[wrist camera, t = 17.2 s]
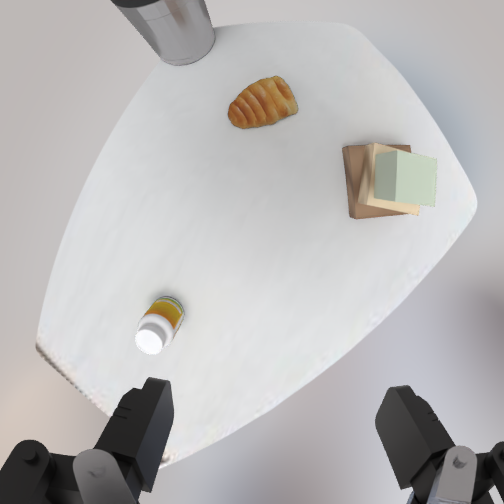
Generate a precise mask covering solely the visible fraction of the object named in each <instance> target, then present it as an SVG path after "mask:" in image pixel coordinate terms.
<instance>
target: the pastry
mask: <svg viewBox="0 0 504 504" xmlns="http://www.w3.org/2000/svg"><path fill="white" fill-rule="evenodd" d="M297 111H298V106H297V103H296V101H295V99H294V96H293V94H292V92H291V90H290V88H289V86H288V85H287V84H286V83H285V81H284V80H283V79H282V78H280V77H278V76H274V77H271V78H265V79H261V80H259V81H257V82H255V83H254V84H251V85H249V86H248V87H247V88H246V89H244V90H243V91H242V93H240V94H239V95H238V97H237V98H236V99H235V100H234V101H233V102H232V103H231V104H230V106H229V111H228V117H229V120H230V121H231V123H232V124H233V125H234V126H237V127H239V128H242V129H246V128H251V127H260V126H263V125H271V124H274V123H276V122H277V121H278V120H281V119H283V118H286V117H287V116H289V115H293V114H296V113H297Z"/></svg>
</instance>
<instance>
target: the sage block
mask: <svg viewBox="0 0 504 504" xmlns="http://www.w3.org/2000/svg"><path fill="white" fill-rule="evenodd" d="M436 176H437V159H436V158H431V157H427V156H423V155H418V154H413V153H409V152H404V151H398V150H396V151H391V152H386V153H381V154H376V155H375V185H374V198H376V199H382V200H388V201H394V202H401V203H409V204H417V205H425V206H432V207H435V196H436Z"/></svg>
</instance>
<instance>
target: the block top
mask: <svg viewBox="0 0 504 504" xmlns="http://www.w3.org/2000/svg"><path fill="white" fill-rule="evenodd" d="M396 150H398V151H403V150H399V149H396V148H393V147H389V146H386V145H382V144H378V143H371V144H368V145H365V148H364V157H363V166H362V175H361V183H360V190H359V197H358V203H361V204H365V205H370V206H375V207H380V208H385V209H390V210H395V211H399V212H404V213H408V214H413V215H417V216H418V215H419V208H420V205H417V204H409V203H401V202H394V201H388V200H382V199H376V198H374V185H375V155H376V154H381V153H386V152H391V151H396ZM404 152H406V151H404Z"/></svg>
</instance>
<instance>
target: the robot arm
mask: <svg viewBox="0 0 504 504" xmlns="http://www.w3.org/2000/svg"><path fill="white" fill-rule="evenodd" d="M111 1H112V2H113V3H114V4H115V6H117V8H118V9H119V10H120V11H121V12H122V13H123V14H124V16H125V17H126V18H127V19H128V20H129V21H130V22H131V24H132V25H133V26H134V27H135V28H136V29H137V30H138V32H139V33H140V34H141V35H142V36H143V38H144V39H145V40H146V41H147V42H148V43H149V45H150V46H151V47H152V48H153V50H154V51H155V52H156V53H157V54H158V55H159V57H160V58H161V59H162V60H163V61H164V62H166V63H169V64H172V65H186V64H190V63H193V62H195V61H197V60H199V59H201V58H202V57H204V56H205V55H206V54H207V53H208V52H209V51H210V49H211V48H212V46H213V43H214V39H215V35H214V31H213V27H212V24H211V21H210V17H209V14H208V11H207V8H206V4H205V1H204V0H111ZM173 419H174V407H173V399H172V391H171V384H170V381H168V380H162V379H157V378H151V377H149V378H148V379H147V380H146V382H145V384H144V386H143V388H142V390H141V389H137V388H133V389H131V390H130V391H129V392H127V393H126V394H125V395H123V397H122V399H121V400H120V402H119V404H118V407H117V408H116V409H115V411H114V413H113V416H111V418H110V420H109V422H108V423H107V425H106V427H105V429H104V431H103V432H102V434H101V436H100V438H99V440H98V442H97V444H96V445H95V447H94V448H93V449H89V450H85V451H83V452H81V453H79V454H78V455H77V456H68V455H61V454H54V453H49V451H48V450H47V449H46V447H45V446H44V445H43V444H42V443H40V442H38V441H36V440H24V441H21V442H20V443H18V444H17V445H16V446H15V448H14V449H13V451H12V452H11V454H10V455H9V457H8V459H7V460H6V462H5V464H4V465H3V467H2V468H1V470H0V504H140V503H139V501H138V499H139V496H140V492H141V490H142V491H145V492H149V493H151V491H152V488H153V485H154V481H155V478H156V475H157V472H158V468H159V465H160V462H161V459H162V456H163V452H164V449H165V446H166V443H167V440H168V437H169V434H170V430H171V427H172V424H173ZM375 425H376V429H377V432H378V434H379V437H380V439H381V441H382V444H383V446H384V449H385V451H386V453H387V456H388V458H389V461H390V463H391V466H392V468H393V471H394V473H395V476H396V478H397V481H398V484H399V486H400V489H401V490H402V489H405V488H409V487H413V491H412V493H411V494H410V497H409V499H408V501H407V504H494V502H493V500H492V498H491V496H490V493H489V490H490V489H491V488H492V487H493V486H494V485H495V486H496V488H497V490H498V492H499V494H500V496H501V498H502V500H503V502H504V442H499V443H497V444H496V445H495V446H494V447H493V449H492V450H491V451H490V452H487V453H479V454H474V452H473V451H472V450H471V449H470V448H468V447H465V446H456V445H455V444H454V442H453V441H452V439H451V437H450V436H449V434H448V433H447V431H446V430H445V428H444V426H443V425H442V423H441V422H440V420H439V421H438V417H437V416H436V414H435V413H434V411H433V410H432V408H431V407H430V405H429V404H428V403H427V402H426V401H425V400H424V399H422V398H421V397H420V396H416V395H415V393H414V392H413V390H412V389H411V387H410V386H408V385H404V386H397V387H390V388H389V389H388V390H387V393H386V395H385V397H384V399H383V402H382V404H381V406H380V408H379V410H378V413H377V415H376V419H375Z"/></svg>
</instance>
